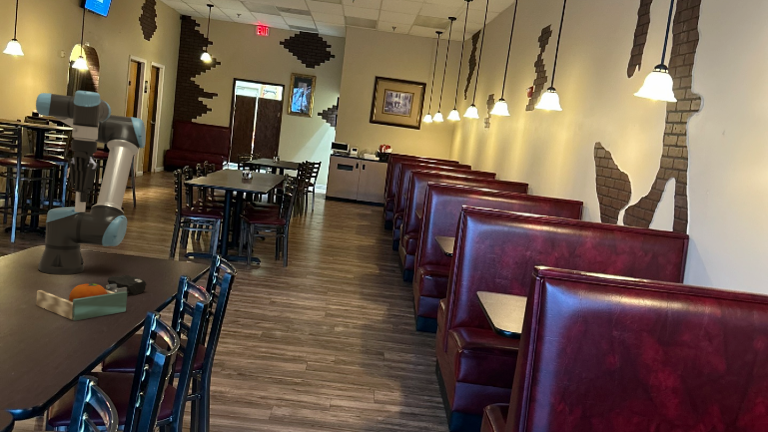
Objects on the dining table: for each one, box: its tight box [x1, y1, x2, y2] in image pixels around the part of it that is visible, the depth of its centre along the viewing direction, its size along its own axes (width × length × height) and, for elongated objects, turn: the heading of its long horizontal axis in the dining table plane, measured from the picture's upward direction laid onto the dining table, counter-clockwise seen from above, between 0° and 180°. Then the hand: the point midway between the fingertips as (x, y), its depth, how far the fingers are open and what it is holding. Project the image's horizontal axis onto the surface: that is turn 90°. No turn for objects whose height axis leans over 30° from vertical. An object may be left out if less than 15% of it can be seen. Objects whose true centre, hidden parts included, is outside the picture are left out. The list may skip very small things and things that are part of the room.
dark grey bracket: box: [105, 283, 127, 293], centre depth 205 cm, size 6×4×6 cm, turn 58°
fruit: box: [68, 283, 108, 302], centre depth 194 cm, size 11×10×8 cm
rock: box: [107, 274, 147, 296], centre depth 219 cm, size 9×10×6 cm
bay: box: [35, 288, 128, 322], centre depth 196 cm, size 19×17×6 cm
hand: (80, 211), depth 212 cm, fingers closed
